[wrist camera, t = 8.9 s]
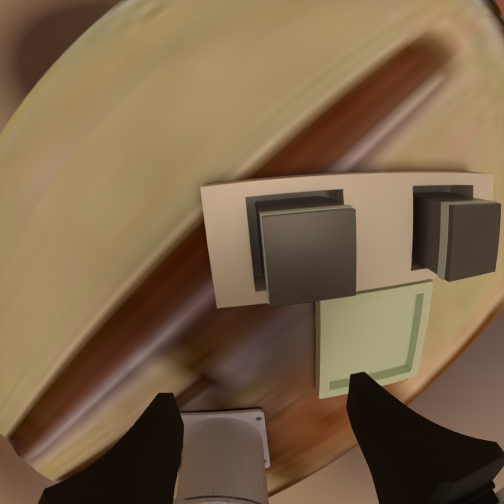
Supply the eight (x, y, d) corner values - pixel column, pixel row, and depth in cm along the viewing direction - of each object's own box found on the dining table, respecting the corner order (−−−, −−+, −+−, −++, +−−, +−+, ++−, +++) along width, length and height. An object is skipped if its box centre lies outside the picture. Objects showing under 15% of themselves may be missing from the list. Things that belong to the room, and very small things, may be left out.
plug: (445, 246, 20) (495, 272, 14) (400, 252, 20) (447, 282, 14) (446, 191, 19) (501, 202, 13) (400, 192, 19) (453, 205, 13)
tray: (409, 366, 24) (416, 376, 22) (315, 386, 24) (319, 399, 22) (422, 274, 21) (433, 281, 20) (314, 290, 21) (320, 299, 20)
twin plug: (325, 260, 20) (356, 296, 14) (260, 267, 20) (269, 308, 14) (322, 194, 19) (356, 207, 13) (254, 200, 19) (261, 216, 13)
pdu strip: (464, 255, 21) (487, 267, 18) (220, 287, 21) (217, 308, 18) (467, 171, 19) (493, 174, 16) (206, 183, 19) (200, 187, 16)
